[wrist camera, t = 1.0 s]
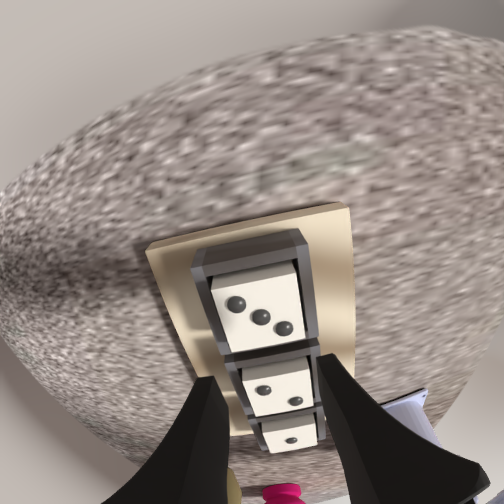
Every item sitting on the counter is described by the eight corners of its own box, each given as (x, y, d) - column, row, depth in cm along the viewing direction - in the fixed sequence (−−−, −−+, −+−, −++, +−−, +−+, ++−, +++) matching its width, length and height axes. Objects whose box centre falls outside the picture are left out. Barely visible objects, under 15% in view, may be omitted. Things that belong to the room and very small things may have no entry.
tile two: (308, 385, 19) (313, 407, 17) (254, 395, 19) (255, 418, 17) (303, 347, 17) (309, 370, 15) (242, 359, 17) (242, 383, 15)
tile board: (347, 402, 24) (358, 432, 21) (230, 424, 25) (230, 456, 21) (340, 201, 17) (366, 219, 13) (152, 242, 17) (130, 269, 14)
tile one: (313, 427, 21) (317, 446, 19) (269, 435, 21) (271, 454, 19) (310, 403, 20) (315, 424, 18) (260, 413, 20) (262, 434, 18)
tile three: (298, 317, 16) (306, 340, 14) (232, 330, 16) (231, 354, 14) (289, 255, 15) (296, 274, 13) (214, 271, 15) (210, 291, 13)
